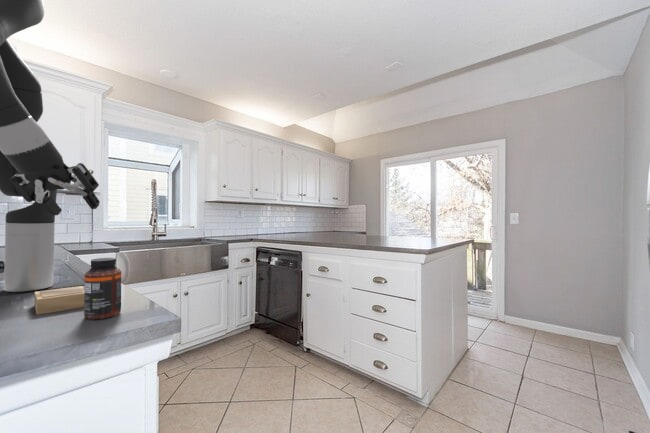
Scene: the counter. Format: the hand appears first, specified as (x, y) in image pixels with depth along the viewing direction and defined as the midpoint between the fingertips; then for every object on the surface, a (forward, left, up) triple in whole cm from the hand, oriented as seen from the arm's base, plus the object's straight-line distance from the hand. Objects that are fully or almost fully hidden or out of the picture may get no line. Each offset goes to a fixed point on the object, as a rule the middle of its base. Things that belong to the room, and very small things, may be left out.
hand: (77, 210), depth 68 cm
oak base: (+3, -3, -21) cm, 21 cm away
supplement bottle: (+16, +2, -21) cm, 26 cm away
